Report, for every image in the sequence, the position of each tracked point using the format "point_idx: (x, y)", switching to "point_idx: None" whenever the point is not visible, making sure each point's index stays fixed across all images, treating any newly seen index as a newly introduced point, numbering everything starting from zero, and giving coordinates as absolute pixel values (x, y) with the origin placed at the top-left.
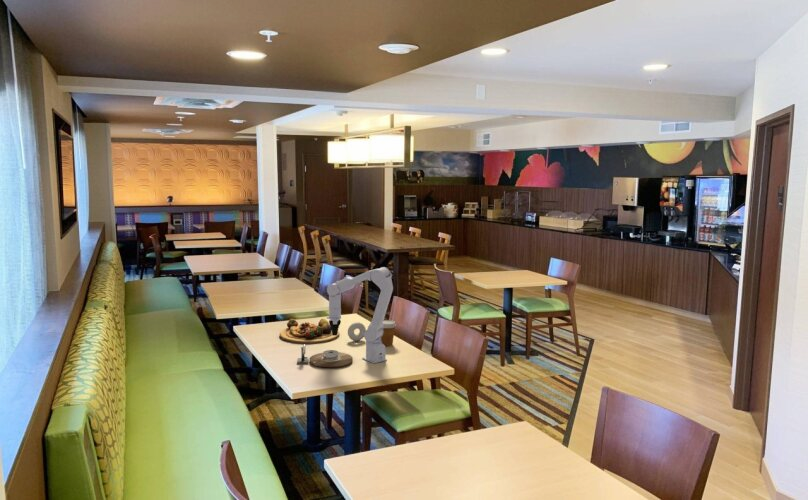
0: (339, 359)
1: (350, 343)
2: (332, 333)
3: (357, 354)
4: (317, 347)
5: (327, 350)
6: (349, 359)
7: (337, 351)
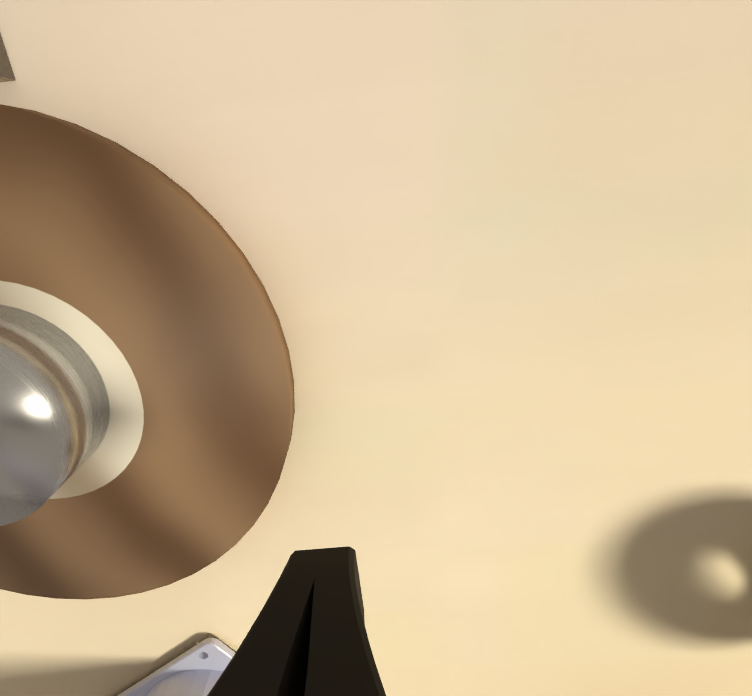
0: None
1: (745, 521)
2: (275, 587)
3: None
4: (655, 137)
5: (14, 386)
6: (42, 575)
7: (13, 516)
